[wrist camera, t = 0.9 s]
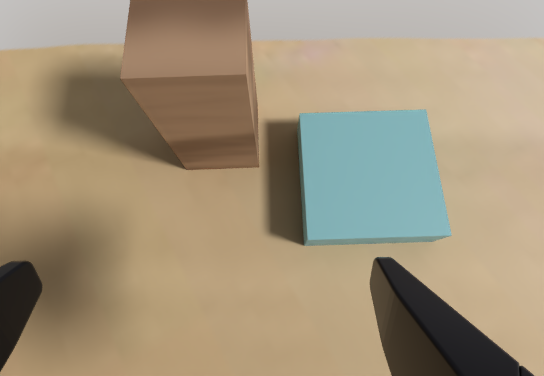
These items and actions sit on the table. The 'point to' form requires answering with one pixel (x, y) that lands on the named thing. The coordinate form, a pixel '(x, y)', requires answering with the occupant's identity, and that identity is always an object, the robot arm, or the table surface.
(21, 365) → the table surface
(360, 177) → the base brick
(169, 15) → the walnut block
